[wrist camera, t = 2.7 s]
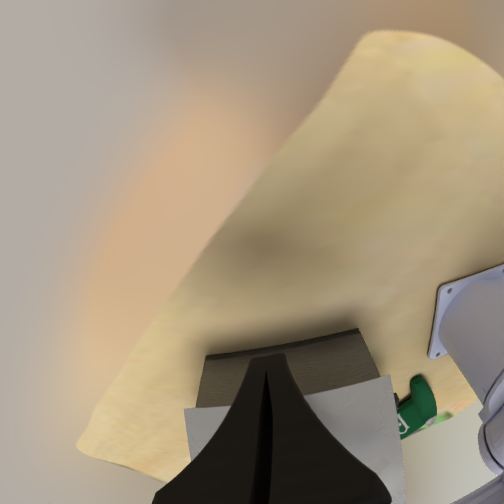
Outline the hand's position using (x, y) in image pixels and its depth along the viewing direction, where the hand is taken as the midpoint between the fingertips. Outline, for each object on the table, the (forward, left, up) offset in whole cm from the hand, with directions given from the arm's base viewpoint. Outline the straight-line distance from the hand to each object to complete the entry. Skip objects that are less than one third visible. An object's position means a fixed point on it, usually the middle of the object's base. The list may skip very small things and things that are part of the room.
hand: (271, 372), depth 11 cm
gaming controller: (-10, +19, -9) cm, 23 cm away
